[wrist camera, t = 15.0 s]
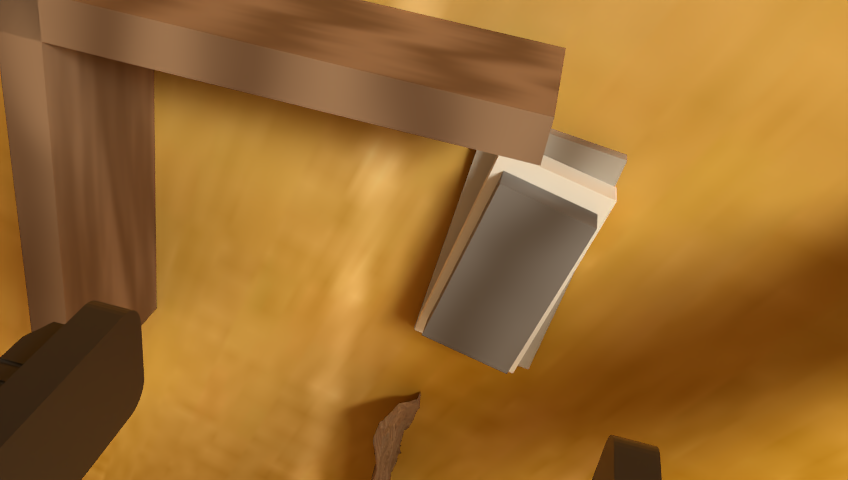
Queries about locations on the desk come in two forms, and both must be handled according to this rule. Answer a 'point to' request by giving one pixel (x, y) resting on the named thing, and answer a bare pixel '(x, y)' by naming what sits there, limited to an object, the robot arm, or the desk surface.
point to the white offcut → (547, 177)
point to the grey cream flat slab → (558, 147)
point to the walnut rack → (236, 69)
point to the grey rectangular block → (509, 272)
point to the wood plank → (392, 437)
